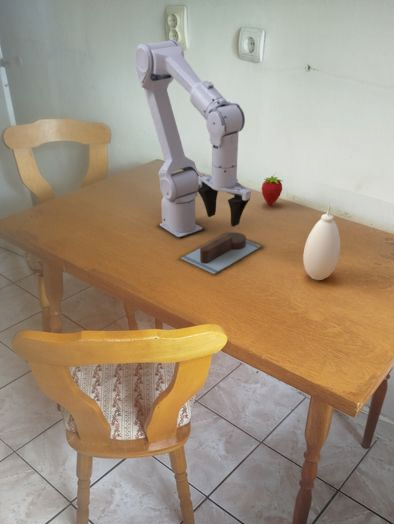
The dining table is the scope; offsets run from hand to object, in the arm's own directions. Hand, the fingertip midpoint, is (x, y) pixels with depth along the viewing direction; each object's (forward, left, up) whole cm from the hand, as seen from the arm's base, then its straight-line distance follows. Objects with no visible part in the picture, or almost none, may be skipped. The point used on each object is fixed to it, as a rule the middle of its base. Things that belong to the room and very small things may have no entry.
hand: (223, 220), depth 121 cm
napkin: (0, 0, -9) cm, 9 cm away
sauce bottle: (+23, +10, -9) cm, 27 cm away
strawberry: (-13, +29, -9) cm, 32 cm away
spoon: (0, 0, -8) cm, 8 cm away
